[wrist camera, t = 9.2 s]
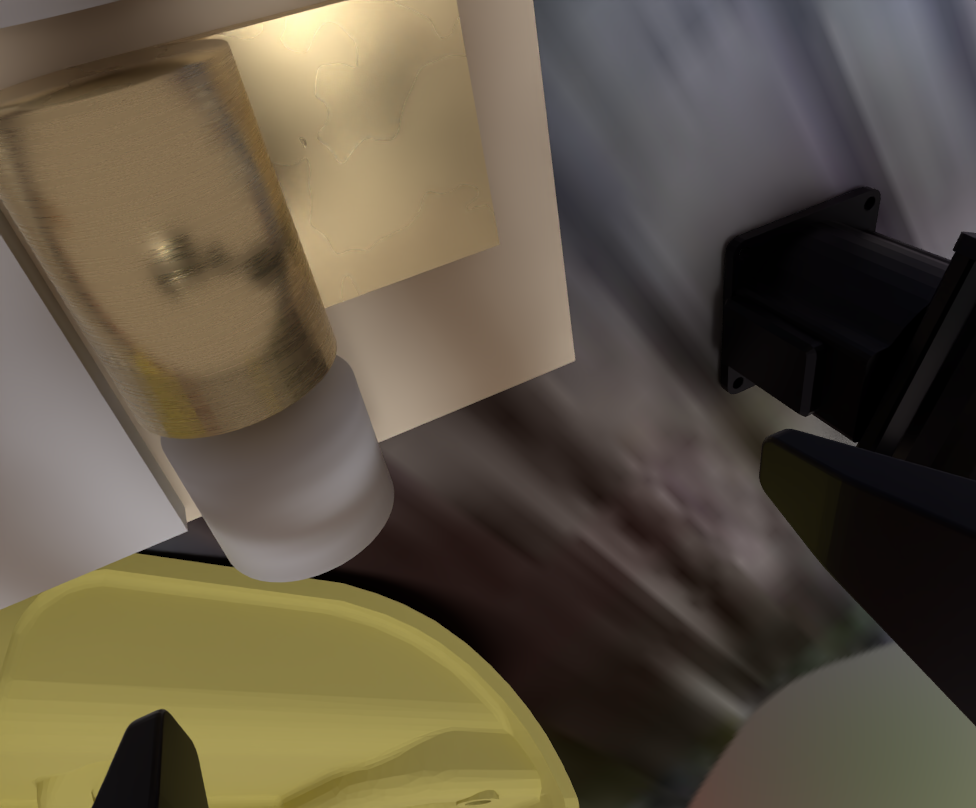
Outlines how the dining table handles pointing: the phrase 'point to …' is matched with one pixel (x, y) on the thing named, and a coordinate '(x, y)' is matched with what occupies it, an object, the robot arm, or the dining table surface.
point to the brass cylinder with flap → (246, 196)
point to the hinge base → (432, 306)
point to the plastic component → (261, 695)
